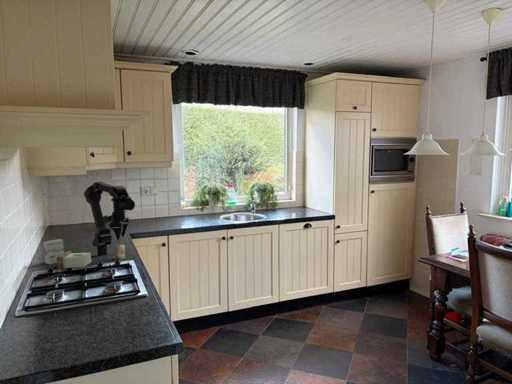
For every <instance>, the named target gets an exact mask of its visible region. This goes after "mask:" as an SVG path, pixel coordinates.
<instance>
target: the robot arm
mask: <svg viewBox="0 0 512 384" xmlns="http://www.w3.org/2000/svg"><path fill="white" fill-rule="evenodd" d="M104 192H105V193H108V195H109V196H111V197H112V198H110V201H111V202H113V203H112V205H113V211H112V212H111V215H103V212H102V207H101V199H102V194H103V193H104ZM83 196H84V198H85V200H86V202H87V203H88V204H89V205H90V208H91V212H92V216H93V220H94V225H95V232H94V239H93V241H92V244H91V245H92V246H93V247H95V248H96V255H95V256H110V253H108V246H109V245H111V244H112V240H113V239H112V238H113V236H112V232H111V230H112V231H113V232H114V234H115V237H116V240H117V241H119V240H120V238H121V237H122V238H124V237H125V234H126V233H127V229H128V227H129V225H130V223H131V218H129V217H127V216H126V213H127V211H133V210H134V209H135V207H136V203H135V201H134V200H133V199H132V197H131V196H130V194H129V193H128V190H127V189H126V186H125V185H112V184H108V183H105V182H104V181H95V182H93V184H91V185H90V186H89V187H87V188H86V189H85V190H84V193H83ZM106 224H108V227H106Z"/></svg>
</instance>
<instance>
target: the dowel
mask: <svg viewBox="0 0 512 384" xmlns="http://www.w3.org/2000/svg"><path fill="white" fill-rule="evenodd" d="M125 248H126V245H125V244H119V245H117V259H119V260H122V259H126V249H125Z"/></svg>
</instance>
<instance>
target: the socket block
mask: <svg viewBox="0 0 512 384" xmlns="http://www.w3.org/2000/svg"><path fill="white" fill-rule="evenodd" d="M91 263H92V253H91V252H78V253H77V252H76V253H75V252H74V253H73V252H72V253H71V254H69V255H67V256H65V257H64V258H63V268H62V269H69V268H70V269H73V268H85V267H87V266H88V265H90V264H91Z"/></svg>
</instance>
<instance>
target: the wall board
mask: <svg viewBox="0 0 512 384" xmlns="http://www.w3.org/2000/svg"><path fill="white" fill-rule="evenodd" d="M71 253H73V252H72V251H71V250H70V251H69V250H68V251H66V252H64V254H62V255H60V256H58V257H57V263H56V265H57V270H62V269H64V268H63V258H64V257H65V256H67V255H69V254H71Z"/></svg>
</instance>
